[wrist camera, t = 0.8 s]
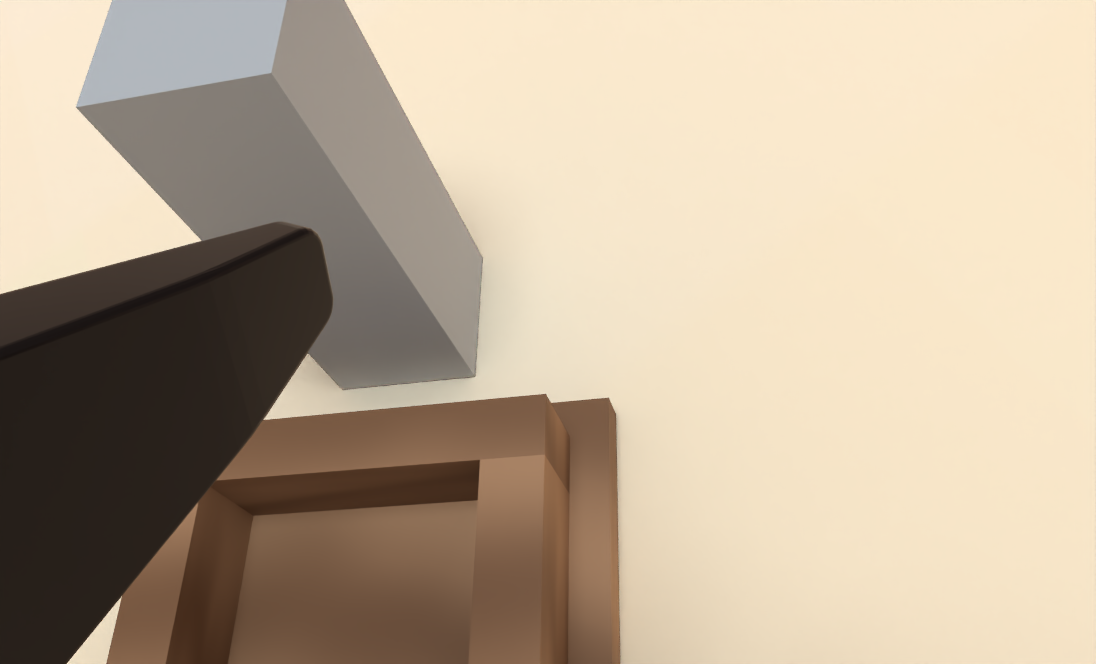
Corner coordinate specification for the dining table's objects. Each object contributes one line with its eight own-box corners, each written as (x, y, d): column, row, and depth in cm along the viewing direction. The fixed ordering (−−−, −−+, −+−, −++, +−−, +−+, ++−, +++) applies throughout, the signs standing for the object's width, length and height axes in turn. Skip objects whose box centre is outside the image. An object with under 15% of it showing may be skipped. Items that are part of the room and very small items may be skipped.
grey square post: (475, 376, 28) (270, 72, 18) (342, 389, 29) (75, 107, 18) (482, 257, 30) (303, -77, 20) (358, 272, 31) (125, -40, 20)
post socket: (625, 953, 20) (589, 961, 17) (106, 935, 23) (-2, 939, 20) (615, 414, 26) (588, 351, 23) (206, 449, 29) (135, 397, 26)
